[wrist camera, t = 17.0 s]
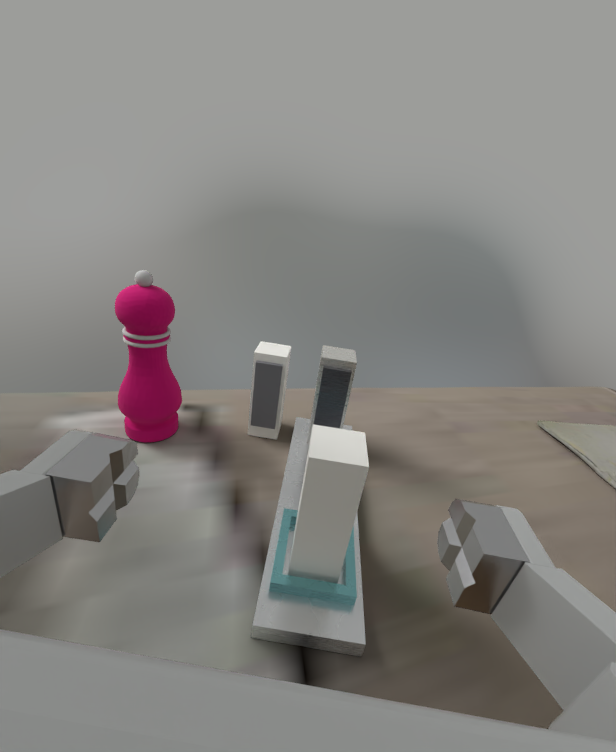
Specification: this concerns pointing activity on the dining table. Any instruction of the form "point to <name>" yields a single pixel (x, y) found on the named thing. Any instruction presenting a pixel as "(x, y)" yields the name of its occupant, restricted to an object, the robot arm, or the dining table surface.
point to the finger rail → (278, 589)
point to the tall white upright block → (328, 502)
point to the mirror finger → (268, 389)
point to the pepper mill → (147, 362)
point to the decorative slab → (588, 445)
